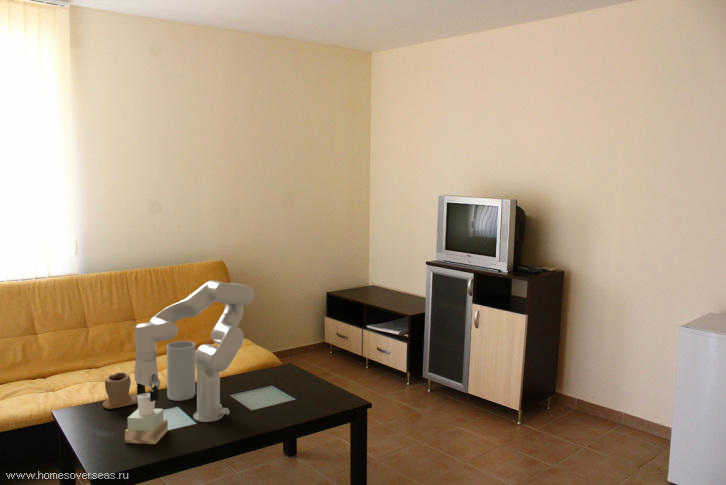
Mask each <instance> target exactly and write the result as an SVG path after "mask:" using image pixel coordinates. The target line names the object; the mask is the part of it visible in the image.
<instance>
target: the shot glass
mask: <svg viewBox="0 0 726 485" xmlns="http://www.w3.org/2000/svg"><path fill="white" fill-rule="evenodd" d="M155 403H156V400H155V401H150V392H145V393H142V394H139V395H138V396H137V409H138V411H139V414H140V415H144V416H145V415H151V414H153V413H154V409H155V407H156V406H155Z"/></svg>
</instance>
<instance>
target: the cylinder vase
mask: <svg viewBox="0 0 726 485" xmlns="http://www.w3.org/2000/svg"><path fill="white" fill-rule="evenodd" d="M195 352H196V343H195V342H194V341H190V340H180V341H173V342H170V343H168V344H167V345H166V375H167V376H166V377H167V378H166V386H167V389H166V394H167V398H168V400H171V401H176V402H182V401H189V400H191V399H192V398H194V397H195V396H196V364H195Z"/></svg>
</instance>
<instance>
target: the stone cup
mask: <svg viewBox="0 0 726 485" xmlns="http://www.w3.org/2000/svg"><path fill="white" fill-rule="evenodd" d="M104 380H105V381H104V388H105V392H106V394H107V397H108V399H106V400H104V401H103V402H102V406H103V408H105V409H108V410H110V409H112V410H113V409H118V408H122V407H128V406H131V405H135V404H138V400H137V396H138V395H137V393H133V394H130V388H131V382H132V381H131V377H130V375H129V373H127V372H124V371H122V372H121V371H120V372H116V373H113V374H110V375H108V376H107V377H106V378H105V379H104Z"/></svg>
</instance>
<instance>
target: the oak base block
mask: <svg viewBox="0 0 726 485" xmlns="http://www.w3.org/2000/svg"><path fill="white" fill-rule="evenodd" d="M168 423H169V422H168V419H163V422H162V423H161V424H160V425H159V426H158V427H157V428H156V429H155V430H154V431H131V430H128V427H127V428H126V429H125V430H124V443H125V444H126V443H127V444H128V443H129V444H146V445H155V444H158V441H160V440H161V439H162V438H163V437H164V436H165V434H166V433H167V432H168V428H169V427H168V426H169V424H168Z"/></svg>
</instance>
